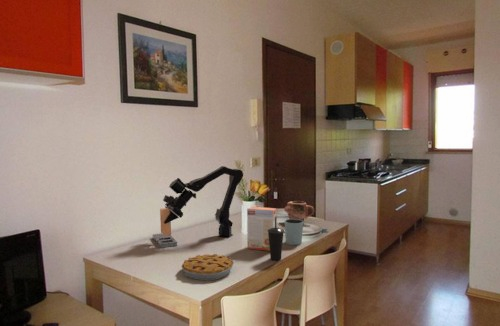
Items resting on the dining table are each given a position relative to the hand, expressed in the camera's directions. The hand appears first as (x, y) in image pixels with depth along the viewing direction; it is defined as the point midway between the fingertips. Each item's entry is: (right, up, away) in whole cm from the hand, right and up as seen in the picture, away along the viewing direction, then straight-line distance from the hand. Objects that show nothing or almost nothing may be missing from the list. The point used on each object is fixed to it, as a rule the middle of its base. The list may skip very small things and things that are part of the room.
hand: (163, 221), depth 194 cm
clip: (+1, -7, +1) cm, 7 cm away
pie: (+28, -15, -38) cm, 50 cm away
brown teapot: (+78, -8, +46) cm, 91 cm away
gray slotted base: (0, -12, +5) cm, 13 cm away
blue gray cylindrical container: (+70, -12, +2) cm, 71 cm away
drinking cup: (+58, -14, -24) cm, 64 cm away
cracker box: (+52, -13, -8) cm, 54 cm away
